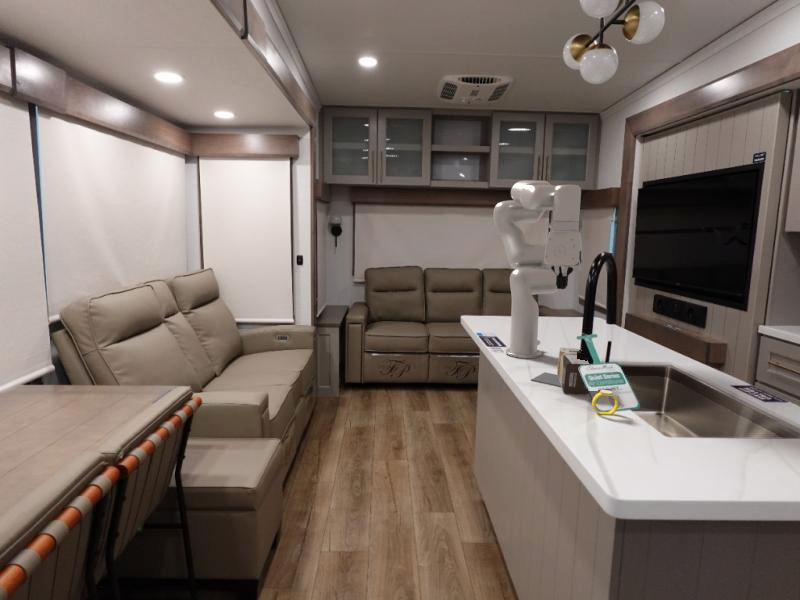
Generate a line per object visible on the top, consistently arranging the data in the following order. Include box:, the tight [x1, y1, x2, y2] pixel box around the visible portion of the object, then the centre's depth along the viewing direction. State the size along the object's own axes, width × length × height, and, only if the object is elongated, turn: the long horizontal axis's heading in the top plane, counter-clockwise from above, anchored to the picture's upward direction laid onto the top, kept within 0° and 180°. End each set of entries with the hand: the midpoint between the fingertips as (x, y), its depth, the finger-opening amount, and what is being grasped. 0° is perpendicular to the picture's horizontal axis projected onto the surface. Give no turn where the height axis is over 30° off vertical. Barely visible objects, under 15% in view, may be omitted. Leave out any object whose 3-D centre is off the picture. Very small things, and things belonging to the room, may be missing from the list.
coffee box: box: [556, 347, 590, 396], centre depth 144 cm, size 9×6×16 cm
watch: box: [591, 389, 619, 416], centre depth 123 cm, size 6×3×6 cm, turn 87°
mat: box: [530, 372, 562, 388], centre depth 150 cm, size 10×10×1 cm
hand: (561, 288), depth 150 cm, fingers closed
